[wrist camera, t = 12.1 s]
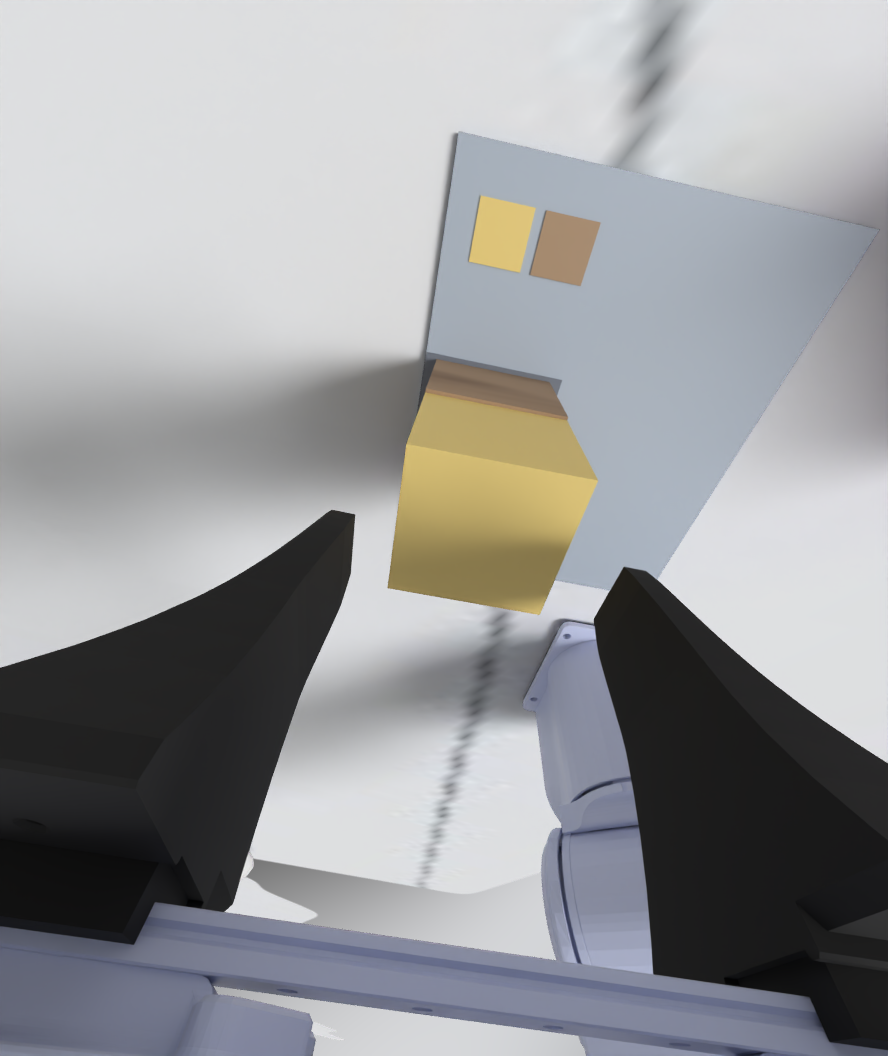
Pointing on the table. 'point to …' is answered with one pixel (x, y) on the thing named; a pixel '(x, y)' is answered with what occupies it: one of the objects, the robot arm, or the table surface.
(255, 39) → the table surface
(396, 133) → the table surface
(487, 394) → the walnut block
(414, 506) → the mustard block
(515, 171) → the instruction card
